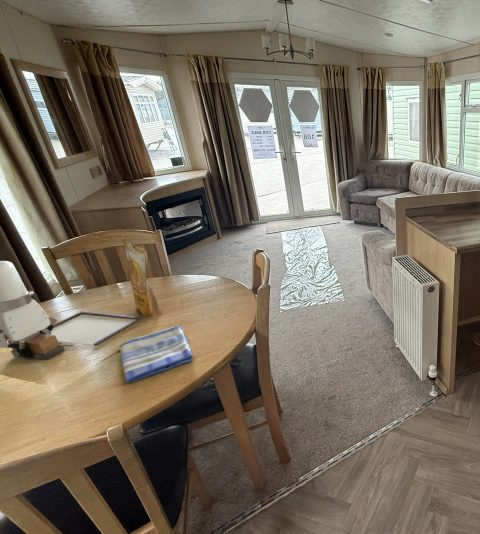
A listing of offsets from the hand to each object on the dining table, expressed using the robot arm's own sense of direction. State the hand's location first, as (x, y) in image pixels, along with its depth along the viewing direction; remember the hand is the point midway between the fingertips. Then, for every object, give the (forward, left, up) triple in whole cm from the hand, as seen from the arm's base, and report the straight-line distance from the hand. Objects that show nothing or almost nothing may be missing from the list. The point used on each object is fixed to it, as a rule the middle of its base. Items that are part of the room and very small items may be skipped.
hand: (38, 351), depth 107 cm
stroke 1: (-2, +6, -1) cm, 6 cm away
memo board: (0, +14, -2) cm, 14 cm away
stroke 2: (+3, +5, -1) cm, 6 cm away
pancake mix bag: (+9, +30, -2) cm, 32 cm away
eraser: (0, 0, -1) cm, 1 cm away
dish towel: (+35, +6, -2) cm, 36 cm away
